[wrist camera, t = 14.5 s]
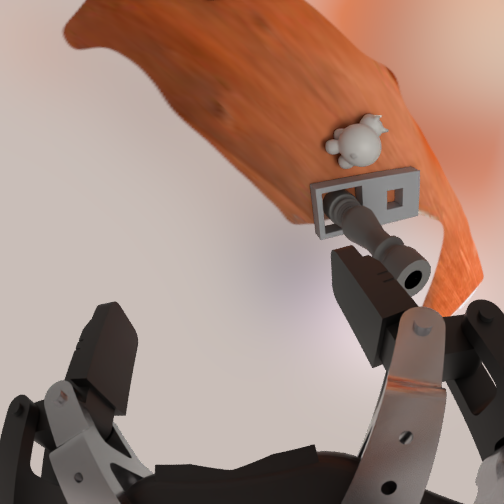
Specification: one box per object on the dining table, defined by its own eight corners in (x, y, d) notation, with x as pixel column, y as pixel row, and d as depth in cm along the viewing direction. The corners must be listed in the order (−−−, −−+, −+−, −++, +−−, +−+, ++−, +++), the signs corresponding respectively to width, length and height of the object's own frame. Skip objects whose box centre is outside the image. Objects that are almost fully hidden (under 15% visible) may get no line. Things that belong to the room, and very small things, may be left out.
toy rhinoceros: (370, 134, 47) (404, 130, 39) (341, 175, 46) (377, 176, 38) (350, 105, 43) (384, 97, 36) (317, 145, 43) (352, 140, 35)
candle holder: (355, 191, 50) (439, 259, 28) (346, 220, 53) (418, 300, 31) (326, 185, 48) (406, 255, 27) (318, 216, 51) (385, 300, 30)
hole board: (309, 184, 48) (315, 189, 45) (411, 166, 48) (419, 170, 46) (315, 232, 53) (320, 240, 50) (410, 210, 53) (418, 215, 51)
